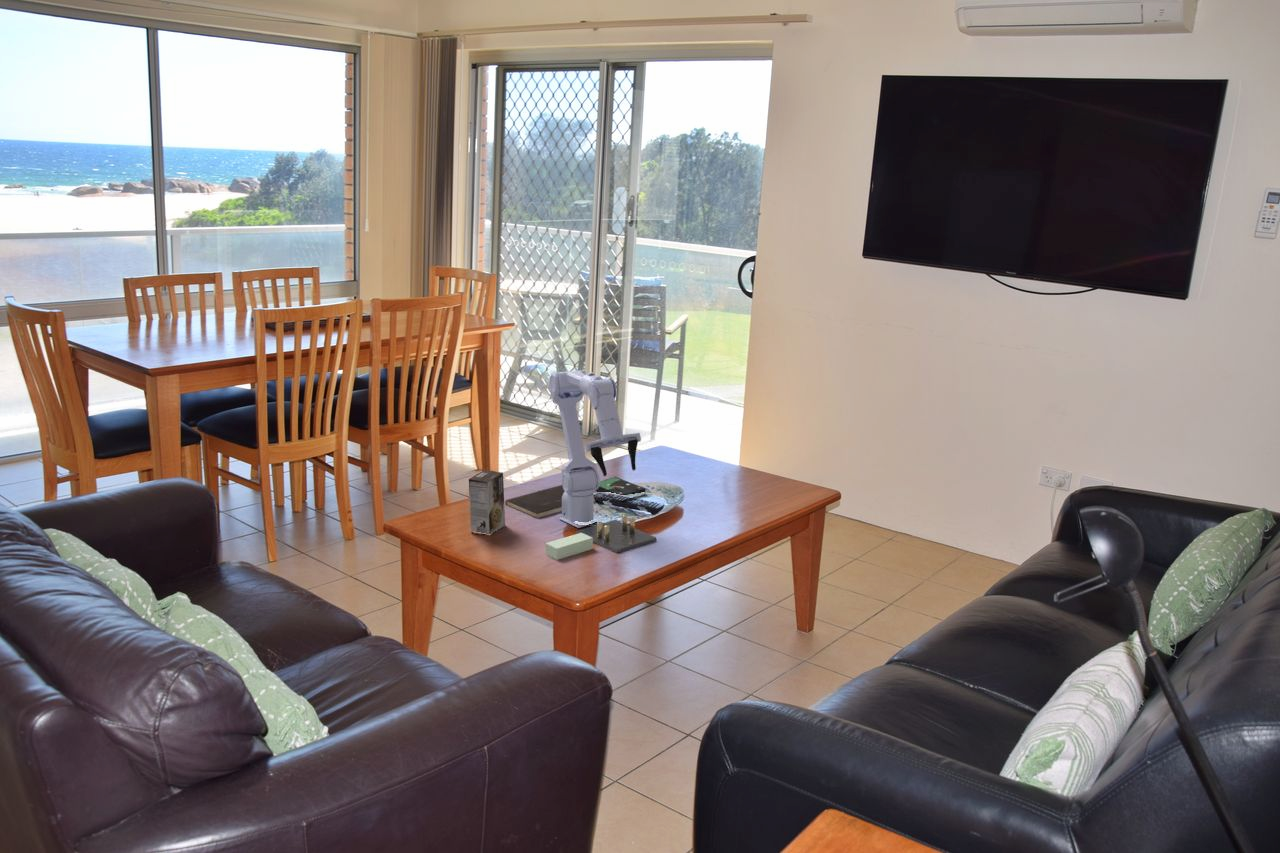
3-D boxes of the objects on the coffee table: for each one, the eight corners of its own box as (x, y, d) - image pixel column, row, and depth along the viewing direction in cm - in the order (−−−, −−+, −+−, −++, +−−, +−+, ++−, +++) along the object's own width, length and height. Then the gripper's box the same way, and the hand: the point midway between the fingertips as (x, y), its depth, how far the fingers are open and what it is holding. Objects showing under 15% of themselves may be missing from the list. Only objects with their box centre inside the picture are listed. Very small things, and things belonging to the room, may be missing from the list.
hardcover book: (597, 502, 316) (597, 495, 315) (537, 520, 301) (537, 512, 300) (564, 490, 327) (564, 483, 327) (505, 506, 312) (505, 499, 312)
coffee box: (486, 522, 297) (484, 469, 293) (505, 525, 295) (504, 471, 291) (469, 533, 289) (467, 478, 285) (490, 536, 287) (488, 481, 283)
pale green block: (545, 555, 275) (545, 543, 274) (581, 544, 282) (581, 532, 281) (556, 561, 271) (556, 548, 270) (592, 549, 278) (592, 537, 278)
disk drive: (646, 496, 322) (615, 484, 333) (646, 488, 321) (615, 476, 332) (620, 503, 316) (590, 490, 326) (620, 495, 315) (590, 482, 326)
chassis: (576, 534, 289) (576, 517, 287) (615, 523, 297) (615, 506, 296) (616, 553, 275) (616, 535, 274) (656, 540, 284) (656, 523, 283)
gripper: (582, 423, 266) (593, 474, 263) (637, 413, 268) (648, 463, 265) (581, 431, 273) (591, 480, 269) (634, 420, 275) (645, 469, 271)
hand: (619, 472), depth 267 cm, fingers open, 7 cm apart
